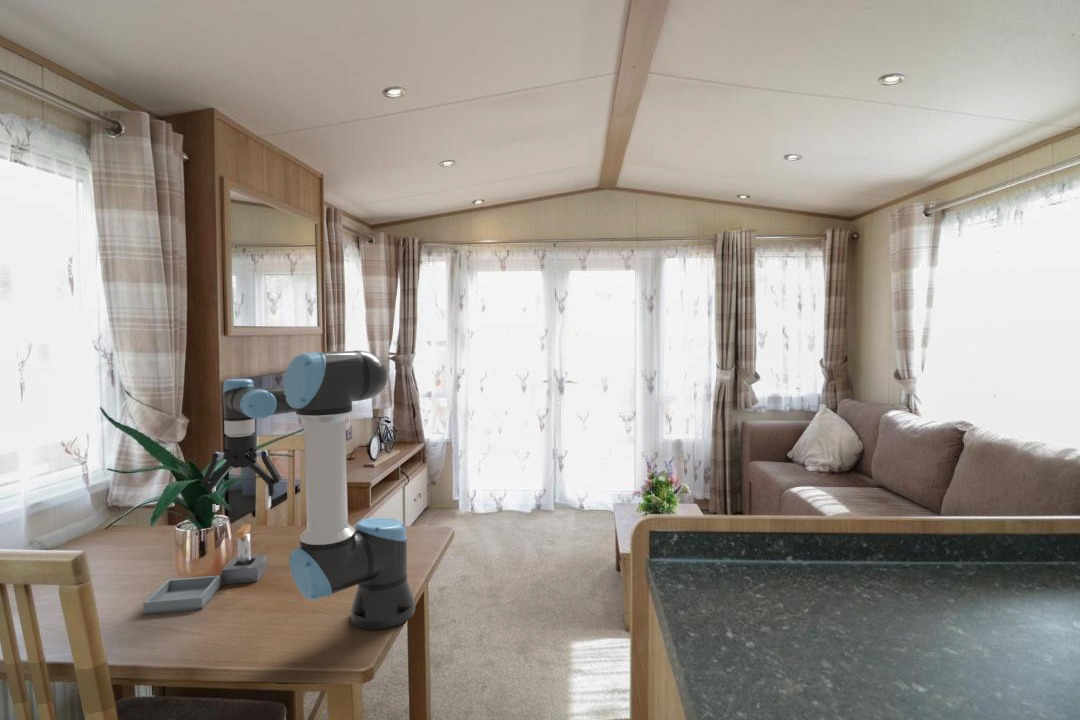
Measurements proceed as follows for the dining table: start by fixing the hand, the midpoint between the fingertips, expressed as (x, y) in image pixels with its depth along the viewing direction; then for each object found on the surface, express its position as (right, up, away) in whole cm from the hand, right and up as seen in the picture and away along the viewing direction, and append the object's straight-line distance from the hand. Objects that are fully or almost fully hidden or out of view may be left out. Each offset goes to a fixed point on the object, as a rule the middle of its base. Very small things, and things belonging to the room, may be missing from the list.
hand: (242, 508), depth 159 cm
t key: (0, -19, +1) cm, 19 cm away
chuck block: (0, -19, +1) cm, 19 cm away
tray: (-8, -20, -13) cm, 25 cm away
